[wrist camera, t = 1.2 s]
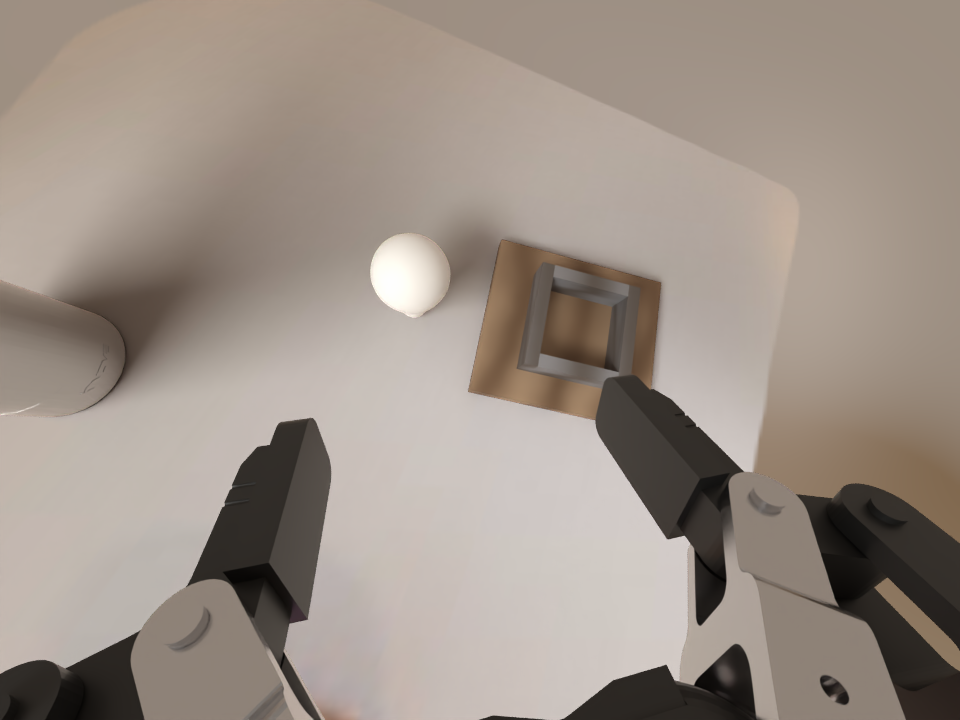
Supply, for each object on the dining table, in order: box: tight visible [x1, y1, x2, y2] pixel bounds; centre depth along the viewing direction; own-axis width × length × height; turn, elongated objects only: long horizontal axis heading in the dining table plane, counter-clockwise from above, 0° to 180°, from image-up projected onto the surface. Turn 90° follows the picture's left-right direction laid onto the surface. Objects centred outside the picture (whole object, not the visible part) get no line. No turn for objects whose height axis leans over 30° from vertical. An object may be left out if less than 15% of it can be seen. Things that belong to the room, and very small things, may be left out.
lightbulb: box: [370, 233, 451, 318], centre depth 30 cm, size 6×6×11 cm
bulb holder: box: [468, 240, 661, 420], centre depth 35 cm, size 18×16×4 cm
